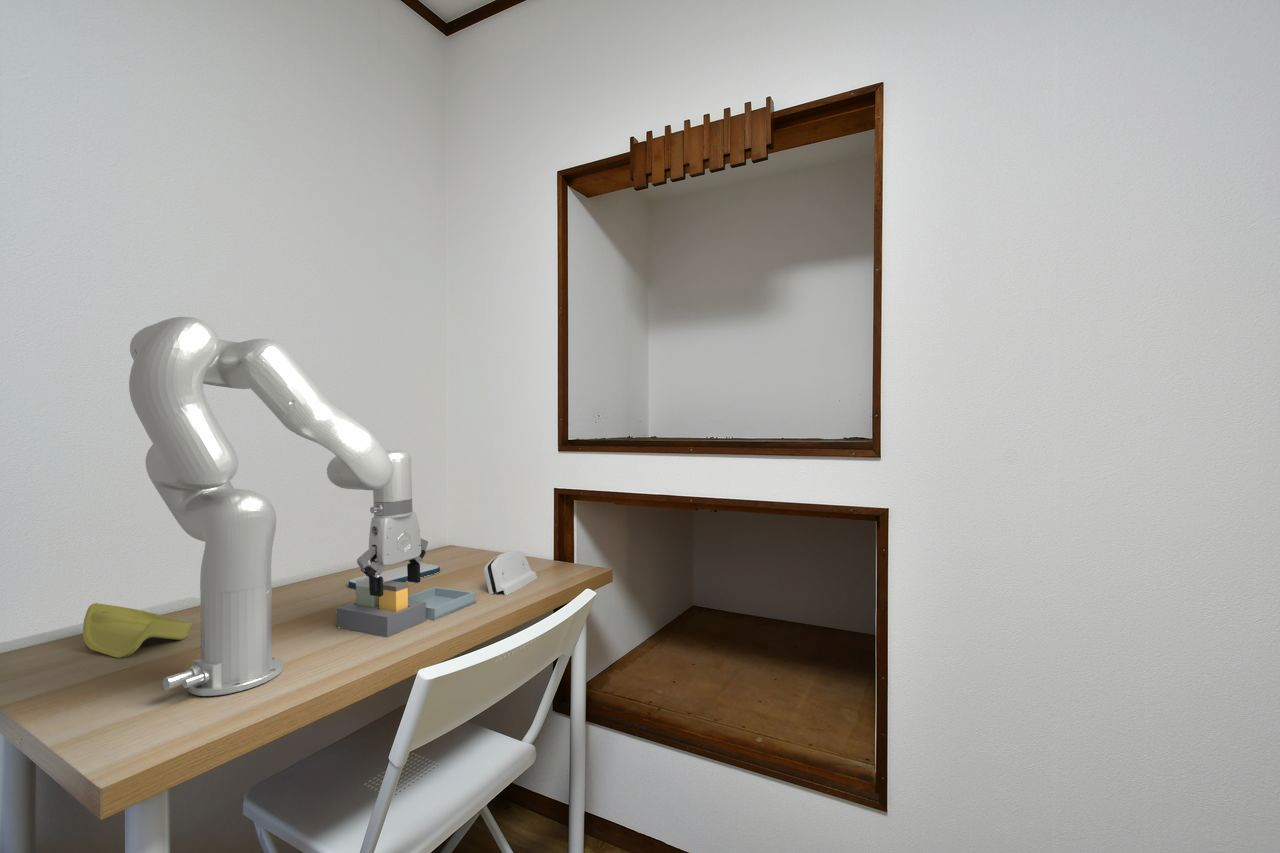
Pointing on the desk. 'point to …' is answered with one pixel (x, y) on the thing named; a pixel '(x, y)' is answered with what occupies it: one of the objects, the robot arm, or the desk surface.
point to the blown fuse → (394, 596)
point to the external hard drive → (400, 574)
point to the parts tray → (443, 601)
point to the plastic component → (127, 629)
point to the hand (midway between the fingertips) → (396, 588)
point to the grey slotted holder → (508, 572)
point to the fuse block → (377, 614)
